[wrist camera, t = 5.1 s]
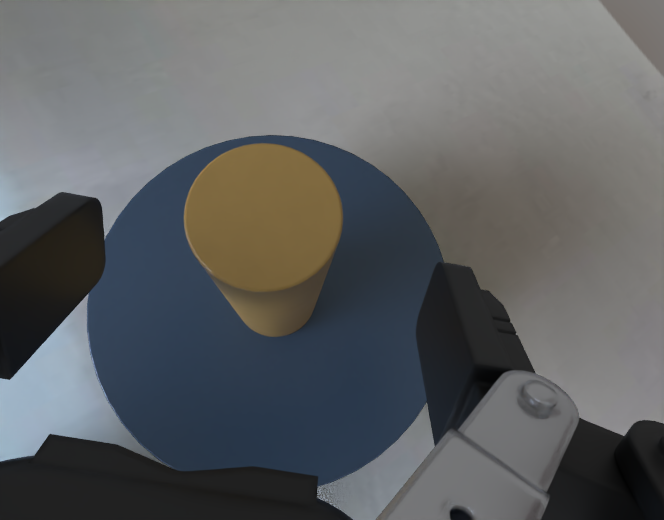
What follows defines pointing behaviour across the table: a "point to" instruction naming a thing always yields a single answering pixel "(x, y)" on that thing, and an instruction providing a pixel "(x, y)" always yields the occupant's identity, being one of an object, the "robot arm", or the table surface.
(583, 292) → the table surface
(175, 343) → the lid
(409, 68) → the table surface
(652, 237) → the table surface
